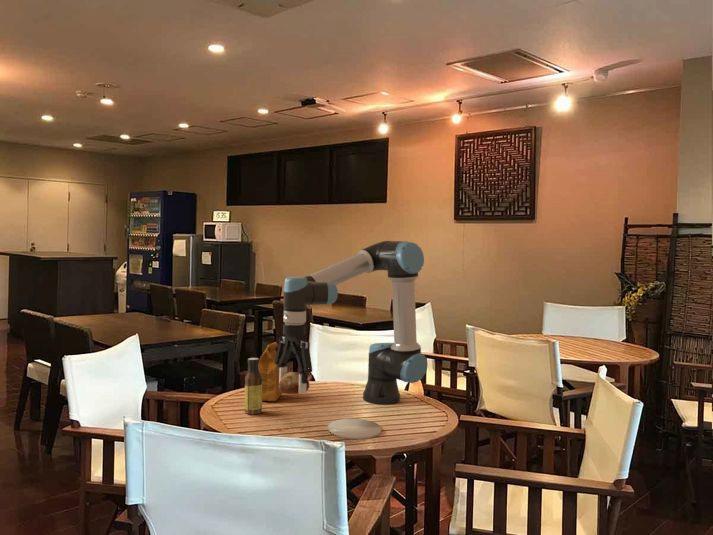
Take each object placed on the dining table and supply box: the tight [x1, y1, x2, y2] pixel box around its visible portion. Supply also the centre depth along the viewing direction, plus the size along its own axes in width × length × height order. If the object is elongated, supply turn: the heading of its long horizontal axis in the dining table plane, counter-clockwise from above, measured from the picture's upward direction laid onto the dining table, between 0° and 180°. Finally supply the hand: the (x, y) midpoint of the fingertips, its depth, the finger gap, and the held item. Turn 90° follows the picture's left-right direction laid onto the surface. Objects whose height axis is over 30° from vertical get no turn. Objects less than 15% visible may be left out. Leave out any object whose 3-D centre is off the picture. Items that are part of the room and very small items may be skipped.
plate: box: [327, 418, 382, 440], centre depth 203 cm, size 18×18×1 cm
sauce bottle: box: [244, 357, 263, 415], centre depth 218 cm, size 7×6×20 cm
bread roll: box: [279, 371, 310, 395], centre depth 201 cm, size 10×10×8 cm
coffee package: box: [258, 341, 283, 402], centre depth 237 cm, size 10×12×22 cm
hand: (292, 389), depth 200 cm, fingers closed on bread roll, 10 cm apart
